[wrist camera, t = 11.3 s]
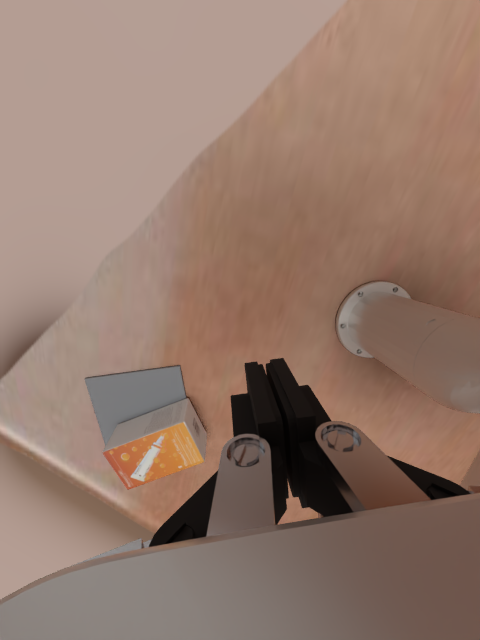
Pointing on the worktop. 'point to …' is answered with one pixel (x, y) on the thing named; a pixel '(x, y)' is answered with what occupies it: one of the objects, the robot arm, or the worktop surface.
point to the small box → (157, 444)
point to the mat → (133, 395)
